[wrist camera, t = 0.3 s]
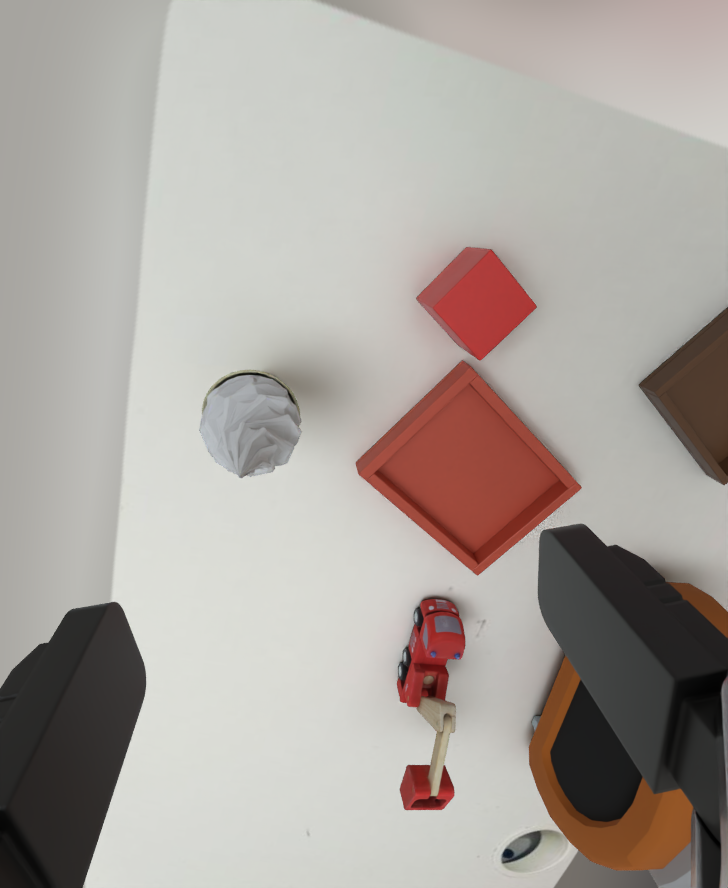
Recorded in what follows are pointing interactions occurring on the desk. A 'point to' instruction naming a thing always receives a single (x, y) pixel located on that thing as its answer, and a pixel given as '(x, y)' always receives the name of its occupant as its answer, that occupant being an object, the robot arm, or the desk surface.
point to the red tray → (467, 470)
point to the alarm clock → (611, 780)
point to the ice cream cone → (250, 422)
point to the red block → (476, 301)
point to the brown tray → (697, 396)
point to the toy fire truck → (431, 698)
